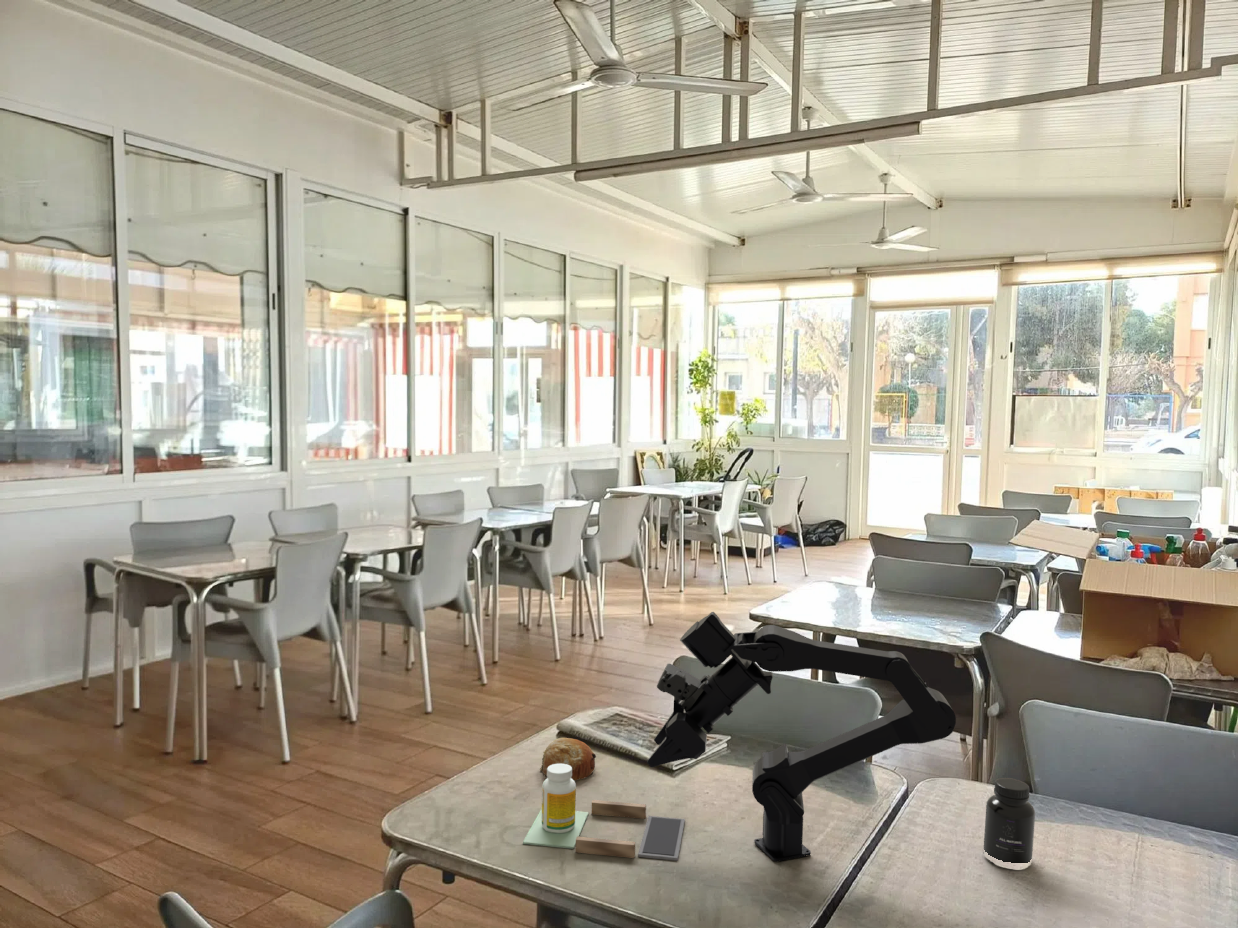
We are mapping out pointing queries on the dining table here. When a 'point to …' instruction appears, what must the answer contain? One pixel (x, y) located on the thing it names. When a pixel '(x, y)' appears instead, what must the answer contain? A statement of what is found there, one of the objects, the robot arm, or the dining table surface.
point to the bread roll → (570, 757)
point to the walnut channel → (608, 845)
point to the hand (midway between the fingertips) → (652, 752)
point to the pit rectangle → (662, 838)
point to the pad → (562, 840)
